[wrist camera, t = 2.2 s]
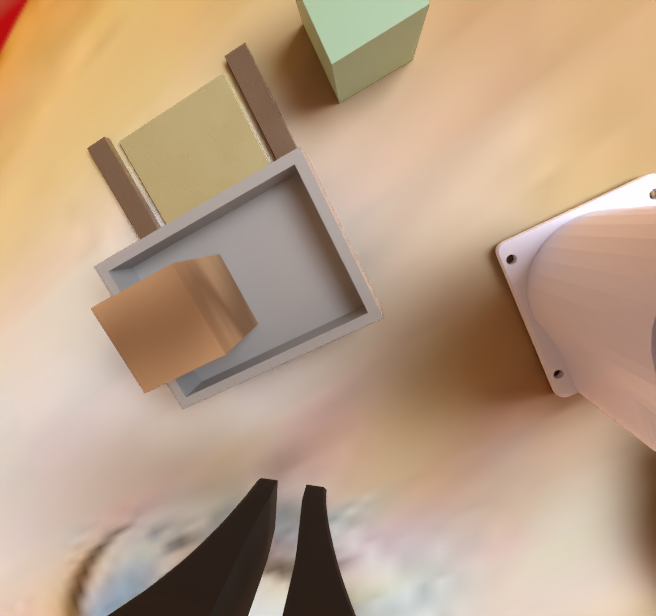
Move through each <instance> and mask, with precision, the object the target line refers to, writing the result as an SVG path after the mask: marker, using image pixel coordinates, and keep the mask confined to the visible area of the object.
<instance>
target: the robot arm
mask: <svg viewBox="0 0 656 616" xmlns="http://www.w3.org/2000/svg"><path fill="white" fill-rule="evenodd" d="M651 190H653V191H654V192H655V195H654V197H653V198H652V199H651V198H650V197H649V193H650V191H651ZM495 252H496V256H497V258H498V261H499V263H500V266H501V268H502V270H503V273H504V275H505V278H506V280H507V282H508V285H509V287H510V290H511V292H512V294H513V297H514V299H515V302H516V304H517V306H518V309H519V311H520V314H521V316H522V318H523V321H524V323H525V326H526V328H527V330H528V333H529V335H530V338H531V340H532V342H533V345H534V347H535V350H536V352H537V354H538V357H539V359H540V362H541V364H542V366H543V369H544V371H545V374H546V376H547V378H548V381H549V383H550V386H551V388H552V390H553V392H554V393H555V394H556V395H558V396H559V397H563V398H564V397H568V396H571V395H574V394H576V393H580V394H581V395H582V396H584V397H585V398H586V399H587V400H589V401H590V402H591V403H593V404H594V405H595V406H597V407H598V408H599V409H600V410H602V411H603V412H604V413H606V414H607V415H608V416H609V417H611V418H612V419H613V420H615V421H616V422H617V423H619V424H620V425H621V426H622V427H624V428H625V429H626V430H628V431H629V432H630V433H631V434H633V435H634V436H635V437H637V438H638V439H639V440H641V441H642V442H643V443H644V444H646V445H647V446H648V447H650V448H651V449H652V450H654V451H655V452H656V174H654V173H652V174H647V175H643V176H641V177H639V178H637V179H635V180H632V181H630V182H628V183H626V184H624V185H622V186H620V187H618V188H615V189H613V190H611V191H609V192H607V193H605V194H603V195H600V196H598V197H596V198H594V199H592V200H590V201H588V202H585V203H583V204H581V205H579V206H577V207H575V208H573V209H571V210H568V211H566V212H564V213H562V214H560V215H558V216H556V217H553V218H551V219H549V220H547V221H545V222H543V223H541V224H538V225H536V226H534V227H532V228H530V229H528V230H526V231H524V232H521V233H519V234H517V235H515V236H513V237H511V238H509V239H506V240H504V241H502V242H501V243H499V244H498V245H497V247H496V250H495ZM511 254H512V255H513V257H514V260H513V262H512V263H510V264H508V263H507V262H506V258H507V257H508V256H509V255H511ZM556 370H560V372H559V374H558V375H556V376H554V375H553V374H554V372H555V371H556ZM277 484H278V481H277V480H270V479H263V478H261V479H259V480H258V481H257V482H256V484H255V485H254V486H253V487H252V489H251V490H250V491H249V493H248V494H247V495H246V496H245V497H244V499H243V500H242V501H241V502H240V503H239V505H238V506H237V507H236V508H235V509H234V510H233V511H232V512H231V514H230V515H229V516H228V517H227V518H226V519H225V520H224V521H223V522H222V523H221V525H220V526H219V527H218V528H217V529H216V530H215V531H214V532H213V533H212V534H211V535H210V536H209V537H208V538H207V539H206V540H205V541H204V542H203V543H202V544H201V545H199V546H198V547H197V548H196V549H195V550H194V551H193V552H192V553H191V554H190V555H189V556H187V557H186V558H185V559H184V560H183V561H182V562H180V563H179V564H178V565H177V566H176V567H174V568H173V569H172V570H171V571H169V572H168V573H167V574H166V575H164V576H163V577H162V578H161V579H159V580H158V581H157V582H156V583H154V584H153V585H152V586H150V587H149V588H148V589H146V590H145V591H143V592H142V593H141V594H139V595H138V596H136V597H135V598H133V599H132V600H130V601H129V602H127V603H126V604H124V605H123V606H121V607H120V608H118V609H117V610H115V611H114V612H113V613H111V614H109V615H108V616H248V614H249V611H250V609H251V606H252V603H253V600H254V597H255V594H256V591H257V588H258V586H259V583H260V580H261V577H262V574H263V571H264V568H265V565H266V562H267V559H268V555H269V551H270V547H271V543H272V538H273V534H274V530H275V518H276V501H277ZM326 491H327V490H326V489H325V488H324V487H320V486H313V485H306V488H305V492H304V495H303V499H302V507H301V516H300V525H299V534H298V544H297V552H296V559H295V565H294V569H293V573H292V578H291V582H290V586H289V591H288V595H287V599H286V603H285V608H284V612H283V616H356V615H355V613H354V610H353V607H352V605H351V602H350V599H349V597H348V594H347V591H346V588H345V585H344V582H343V579H342V576H341V573H340V569H339V566H338V562H337V559H336V555H335V551H334V547H333V543H332V538H331V533H330V529H329V523H328V516H327V507H326Z"/></svg>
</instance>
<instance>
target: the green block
mask: <svg viewBox="0 0 656 616" xmlns="http://www.w3.org/2000/svg"><path fill="white" fill-rule="evenodd" d="M296 3H297V6H298V9H299V13H300V16H301V19H302V23H303V25H304V28H305V30H306V32H307V34H308V36H309V39H310V41H311V43H312V45H313V47H314V49H315V52H316V54H317V56H318V58H319V60H320V62H321V65H322V67H323V69H324V71H325V73H326V75H327V78H328V80H329V82H330V84H331V86H332V89H333V91H334V93H335V95H336V97H337V99H338V102H339V103H341V102H343V101H344V100H346V99H348V98H349V97H351V96H353V95H354V94H356V93H358V92H359V91H361V90H363V89H364V88H366V87H368V86H369V85H371V84H373V83H375V82H376V81H378V80H380V79H381V78H383V77H385V76H386V75H388V74H390V73H391V72H393V71H395V70H396V69H398V68H400V67H401V66H403V65H405V64H406V63H408V62H410V61H411V60H413V57H414V54H415V50H416V47H417V44H418V40H419V37H420V34H421V30H422V27H423V24H424V20H425V17H426V14H427V10H428V7H429V1H428V0H296Z"/></svg>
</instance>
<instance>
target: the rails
mask: <svg viewBox="0 0 656 616" xmlns="http://www.w3.org/2000/svg"><path fill="white" fill-rule="evenodd" d="M225 58H226V60H227V62H228V64H229V66H230V68H231V70H232V72H233V74H234V76H235V78H236V80H237V82H238V84H239V86H240V88H241V90H242V92H243V94H244V96H245V98H246V100H247V102H248V104H249V106H250V108H251V110H252V112H253V114H254V116H255V118H256V120H257V122H258V124H259V126H260V128H261V130H262V131H263V133H264V135H265V137H266V139H267V141H268V143H269V145H270V147H271V149H272V151H273V153H274V155H275V157H276V159H279V158H281V157H283V156H284V155H286V154H288V153H289V152H291V151H293V150H295V149H296V148H297V146H296V144H295V142H294V140H293V138H292V136H291V134H290V132H289V130H288V128H287V126H286V124H285V122H284V120H283V118H282V116H281V114H280V112H279V110H278V108H277V106H276V104H275V102H274V100H273V98H272V95H271V93H270V91H269V89H268V87H267V85H266V83H265V81H264V79H263V77H262V75H261V73H260V71H259V69H258V67H257V65H256V63H255V61H254V59H253V57H252V55H251V53H250V51H249V49H248V47H247V45H246V43H244V44H242V45H241V46H239V47H238V48H236V49H235V50H233V51H232V52H230V53H229V54H227V55H226V56H225ZM119 143H120V145H121V146H122V148H123V150H124V152H125V153H126V155H127V157H128V159H129V160H130V162H131V164H132V166H133V167H134V169H135V171H136V172H137V174H138V176H139V178H140V179H141V181H142V183H143V185H144V186H145V188H146V190H147V192H148V193H149V195H150V197H151V199H152V200H153V202H154V204H155V206H156V207H157V209H158V211H159V213H160V214H161V216H162V218H163V219H164V221H165V223H166V224H168V223H170V222H171V221H173V220H175V219H176V218H178V217H180V216H182V215H183V214H185V213H187V212H188V211H190V210H192V209H194V208H195V207H197V206H199V205H200V204H202V203H204V202H206V201H207V200H209V199H211V198H212V197H214V196H216V195H218V194H219V193H221V192H223V191H224V190H226V189H228V188H230V187H231V186H233V185H235V184H236V183H238V182H240V181H242V180H243V179H245V178H247V177H248V176H250V175H252V174H254V173H255V172H257V171H259V170H260V169H262V168H264V167H265V166H267V165H269V162H268V160H267V158H266V156H265V154H264V152H263V150H262V148H261V146H260V144H259V142H258V140H257V138H256V136H255V134H254V132H253V130H252V128H251V126H250V125H249V123H248V121H247V119H246V117H245V115H244V113H243V111H242V109H241V107H240V105H239V103H238V101H237V99H236V97H235V95H234V93H233V91H232V89H231V87H230V85H229V83H228V81H227V79H226V77H225V75H224V74H221V75H220V76H218V77H217V78H215V79H214V80H212V81H211V82H209V83H208V84H206V85H205V86H203V87H202V88H200V89H199V90H197V91H196V92H194V93H192V94H191V95H189V96H188V97H186V98H185V99H183V100H182V101H180V102H179V103H177V104H176V105H174V106H173V107H171V108H170V109H168V110H167V111H165V112H164V113H162V114H161V115H159V116H158V117H156V118H155V119H153V120H152V121H150V122H148V123H147V124H145V125H144V126H142V127H141V128H139V129H138V130H136V131H135V132H133V133H132V134H130V135H129V136H127V137H126V138H124V139H123V140H121V141H120V142H119ZM87 149H88V150H89V152H90V154H91V155H92V157H93V159H94V161H95V162H96V164H97V166H98V167H99V169H100V171H101V172H102V174H103V176H104V177H105V179H106V181H107V183H108V184H109V186H110V188H111V189H112V191H113V193H114V194H115V196H116V198H117V199H118V201H119V203H120V204H121V206H122V208H123V210H124V211H125V213H126V215H127V216H128V218H129V220H130V221H131V223H132V225H133V226H134V228H135V230H136V232H137V233H138V235H139V237H140V238H141V239H142V238H144V237H146V236H147V235H149V234H151V233H152V232H154V231H156V230H158V229H159V228H161V227H160V225H159V224H158V222H157V220H156V219H155V217H154V215H153V213H152V212H151V210H150V208H149V206H148V205H147V203H146V201H145V200H144V198H143V196H142V194H141V193H140V191H139V189H138V187H137V186H136V184H135V182H134V181H133V179H132V177H131V175H130V174H129V172H128V170H127V168H126V167H125V165H124V163H123V161H122V160H121V158H120V156H119V155H118V153H117V151H116V149H115V148H114V146H113V144H112V142H111V141H110V139H109V138H106V137H103V138H102V139H100V140H99V141H97V142H96V143H94V144H93V145H91V146H90V147H88V148H87Z"/></svg>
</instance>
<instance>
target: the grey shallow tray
mask: <svg viewBox="0 0 656 616" xmlns="http://www.w3.org/2000/svg"><path fill="white" fill-rule="evenodd" d="M217 254H220V256H221V257H222V259H223V261H224V263H225V265H226V266H227V268H228V270H229V272H230V274H231V275H232V277H233V279H234V281H235V283H236V284H237V286H238V288H239V290H240V292H241V293H242V295H243V297H244V299H245V301H246V302H247V304H248V306H249V308H250V310H251V311H252V313H253V315H254V317H255V319H256V320H257V322H258V325H257V326H256V327H255V328H253V329H252V330H251V331H250V332H249V333H248V334H247V335H246V336H245V337H244V338H243V339H242V340H241V341H240V342H239V343H237V344H236V345H235V346H234V347H233V348H232V349H231V350H230V351H229V352H228V353H227V354H226V355H224V356H222V357H220V358H218V359H216V360H213V361H211V362H209V363H207V364H205V365H203V366H201V367H199V368H197V369H195V370H193V371H191V372H188V373H186V374H184V375H182V376H180V377H178V378H176V379H174V380H172V381H170V382H168V383H167V385H168V386H169V388H170V390H171V391H172V393H173V394H174V396H175V398H176V399H177V401H178V402H179V404H180V406H181V407H182V409H185V408H187V407H189V406H191V405H194V404H196V403H198V402H200V401H202V400H205V399H207V398H209V397H211V396H213V395H216V394H218V393H220V392H222V391H224V390H226V389H229V388H231V387H233V386H235V385H237V384H240V383H242V382H244V381H246V380H248V379H251V378H253V377H255V376H257V375H259V374H262V373H264V372H266V371H268V370H270V369H273V368H275V367H277V366H279V365H281V364H283V363H286V362H288V361H290V360H292V359H294V358H297V357H299V356H301V355H303V354H305V353H308V352H310V351H312V350H314V349H316V348H319V347H321V346H323V345H325V344H327V343H330V342H332V341H334V340H336V339H338V338H340V337H343V336H345V335H347V334H349V333H351V332H354V331H356V330H358V329H360V328H362V327H365V326H367V325H369V324H371V323H373V322H376V321H378V320H380V319H382V318H383V314H382V310H381V306H380V304H379V302H378V300H377V298H376V296H375V294H374V292H373V290H372V287H371V285H370V283H369V281H368V279H367V277H366V275H365V273H364V271H363V269H362V267H361V265H360V263H359V261H358V259H357V257H356V255H355V253H354V251H353V249H352V246H351V244H350V242H349V240H348V238H347V236H346V234H345V232H344V230H343V228H342V226H341V224H340V222H339V220H338V218H337V216H336V214H335V212H334V210H333V208H332V205H331V203H330V201H329V199H328V197H327V195H326V193H325V191H324V189H323V187H322V185H321V183H320V181H319V179H318V177H317V175H316V173H315V171H314V169H313V166H312V164H311V162H310V160H309V158H308V157H307V155H306V154H305V153H304V152H303V150H302V149H301V148H300V147H298V148H296V149H295V150H293V151H291V152H289V153H288V154H286V155H284V156H283V157H281V158H279V159H277V160H276V161H274V162H272V163H271V164H269V165H267V166H265V167H264V168H262V169H260V170H259V171H257V172H255V173H254V174H252V175H250V176H248V177H247V178H245V179H243V180H242V181H240V182H238V183H236V184H235V185H233V186H231V187H230V188H228V189H226V190H224V191H223V192H221V193H219V194H218V195H216V196H214V197H212V198H211V199H209V200H207V201H206V202H204V203H202V204H200V205H199V206H197V207H195V208H194V209H192V210H190V211H188V212H187V213H185V214H183V215H182V216H180V217H178V218H176V219H175V220H173V221H171V222H170V223H168V224H166V225H164V226H163V227H161V228H159V229H158V230H156V231H154V232H152V233H151V234H149V235H147V236H146V237H144V238H142V239H140V240H139V241H137V242H135V243H134V244H132V245H130V246H128V247H127V248H125V249H123V250H122V251H120V252H118V253H116V254H115V255H113V256H111V257H110V258H108V259H106V260H104V261H103V262H101V263H99V264H98V265H96V266H94V268H95V269H96V271H97V273H98V274H99V276H100V277H101V279H102V281H103V282H104V284H105V285H106V287H107V289H108V290H109V292H110V293H111V295H112V296H114V295H116V294H118V293H119V292H121V291H123V290H125V289H127V288H128V287H130V286H132V285H134V284H136V283H137V282H139V281H141V280H143V279H145V278H146V277H148V276H150V275H152V274H154V273H155V272H157V271H159V270H161V269H163V268H164V267H166V266H168V265H170V264H172V263H176V262H181V261H186V260H191V259H196V258H202V257H207V256H212V255H217Z"/></svg>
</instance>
